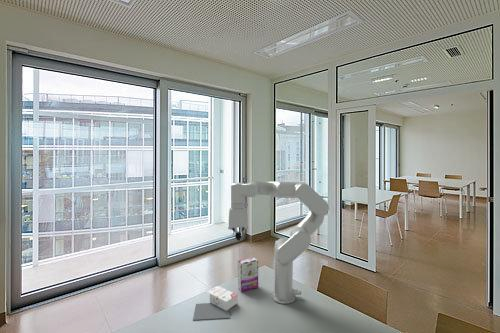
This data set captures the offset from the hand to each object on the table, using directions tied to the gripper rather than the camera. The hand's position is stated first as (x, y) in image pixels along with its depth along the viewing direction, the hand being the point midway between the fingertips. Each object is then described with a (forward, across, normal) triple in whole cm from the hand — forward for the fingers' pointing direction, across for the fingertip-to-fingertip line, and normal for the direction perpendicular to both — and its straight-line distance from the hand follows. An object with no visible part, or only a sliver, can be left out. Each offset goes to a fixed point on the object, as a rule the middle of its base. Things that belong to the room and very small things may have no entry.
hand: (238, 239), depth 137 cm
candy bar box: (+31, -6, -8) cm, 33 cm away
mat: (+31, +14, +12) cm, 36 cm away
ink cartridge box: (+28, +4, +10) cm, 30 cm away
